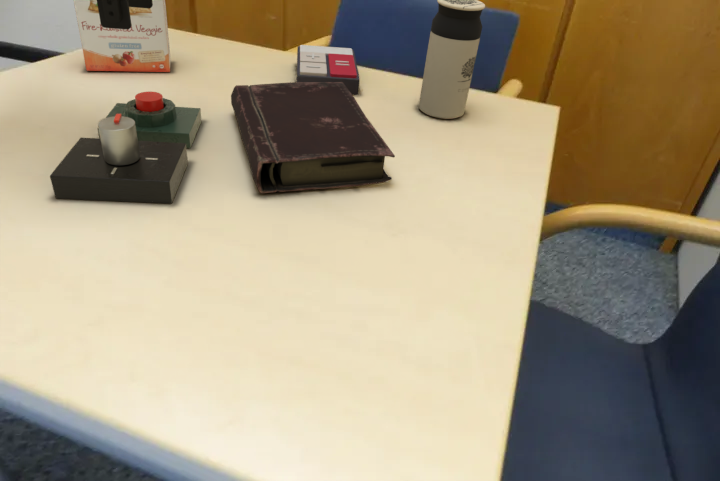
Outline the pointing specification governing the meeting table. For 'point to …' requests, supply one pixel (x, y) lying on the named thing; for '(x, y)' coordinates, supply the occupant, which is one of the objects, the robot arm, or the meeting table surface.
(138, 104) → the button
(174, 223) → the meeting table surface
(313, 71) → the calculator
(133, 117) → the button base
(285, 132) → the diary
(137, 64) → the cracker box
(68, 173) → the knob base
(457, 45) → the travel mug
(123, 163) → the hob knob
